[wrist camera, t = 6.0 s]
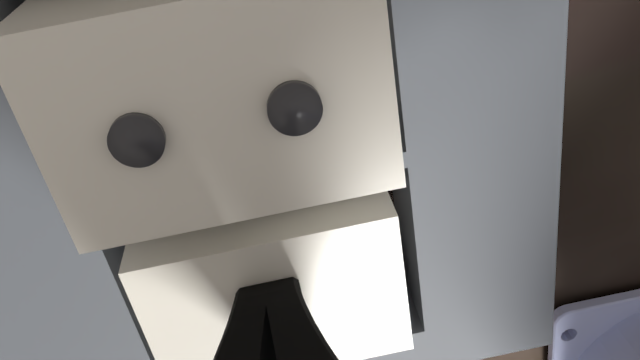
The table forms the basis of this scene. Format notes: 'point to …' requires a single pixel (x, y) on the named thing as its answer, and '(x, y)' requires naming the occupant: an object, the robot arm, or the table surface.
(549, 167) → the keypad board
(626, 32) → the table surface
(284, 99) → the tile
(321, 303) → the tile
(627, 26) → the table surface
